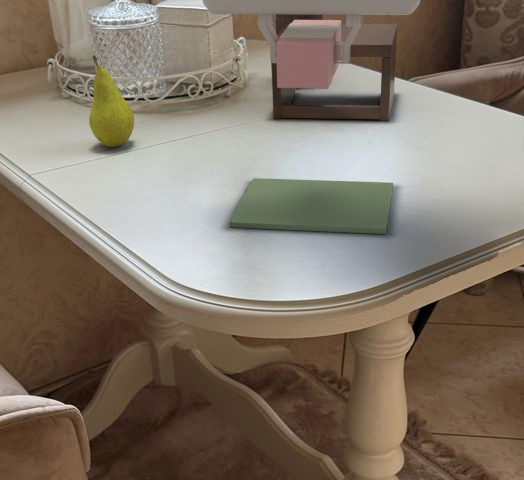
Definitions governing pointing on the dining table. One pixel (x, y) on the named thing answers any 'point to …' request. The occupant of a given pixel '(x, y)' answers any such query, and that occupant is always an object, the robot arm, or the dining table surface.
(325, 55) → the block
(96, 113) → the fruit
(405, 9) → the robot arm
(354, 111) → the shelf stand
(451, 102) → the dining table surface
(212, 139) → the dining table surface
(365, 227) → the placemat
